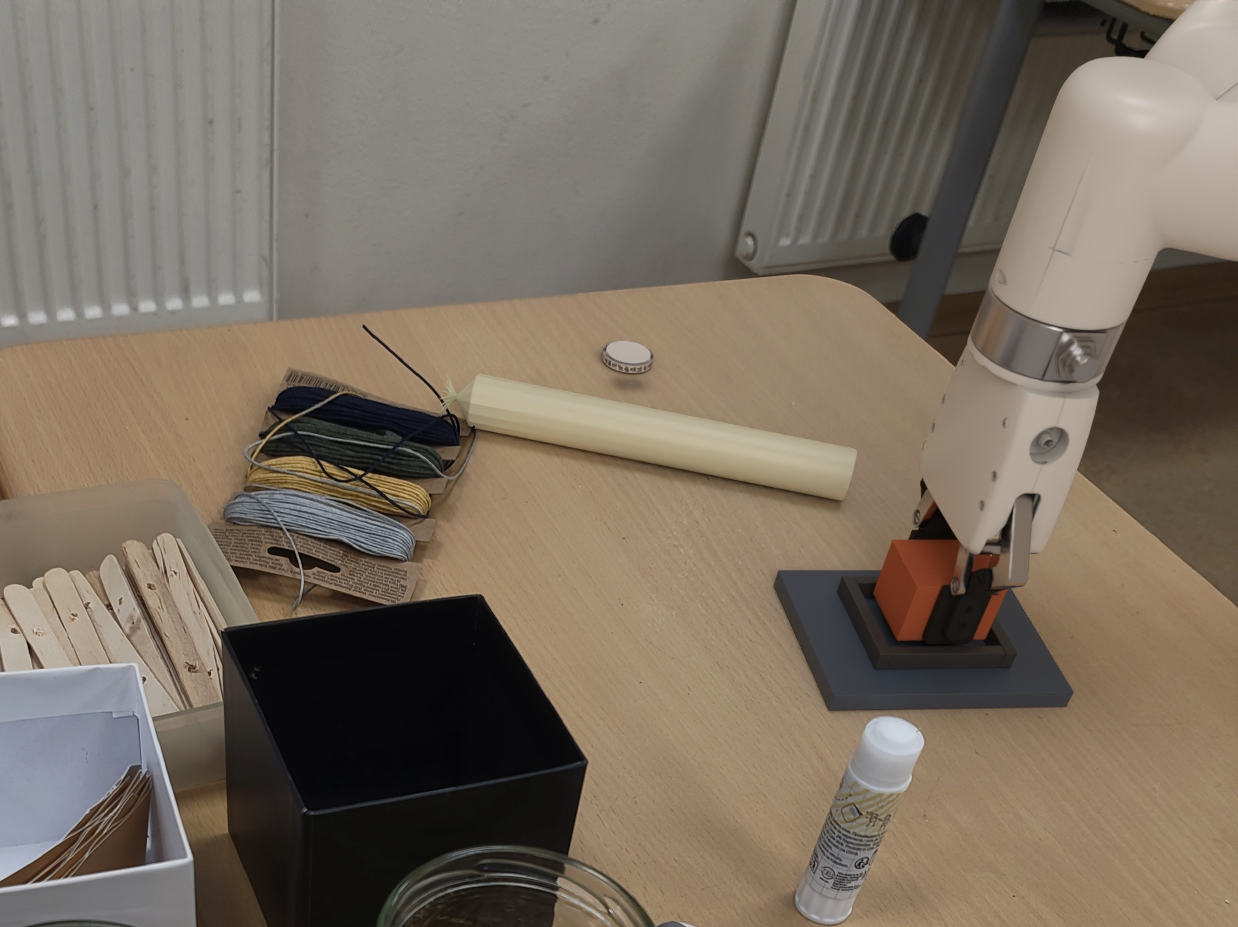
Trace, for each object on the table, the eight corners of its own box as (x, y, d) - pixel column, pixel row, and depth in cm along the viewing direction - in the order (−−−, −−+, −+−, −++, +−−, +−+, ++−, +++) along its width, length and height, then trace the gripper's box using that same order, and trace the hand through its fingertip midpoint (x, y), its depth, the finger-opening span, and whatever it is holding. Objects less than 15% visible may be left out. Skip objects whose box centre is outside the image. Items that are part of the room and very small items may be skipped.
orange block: (958, 592, 95) (980, 539, 92) (985, 640, 92) (1009, 586, 89) (872, 593, 94) (892, 539, 91) (896, 641, 91) (918, 587, 88)
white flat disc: (597, 366, 113) (599, 358, 113) (606, 343, 116) (608, 335, 115) (647, 377, 113) (649, 369, 113) (655, 353, 115) (657, 345, 115)
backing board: (993, 584, 100) (1007, 554, 98) (1066, 707, 92) (1082, 676, 90) (773, 585, 97) (782, 554, 96) (828, 711, 90) (840, 679, 88)
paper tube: (444, 406, 108) (449, 357, 105) (842, 485, 106) (858, 438, 103) (434, 430, 105) (438, 381, 103) (840, 512, 104) (856, 464, 101)
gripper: (1175, 415, 74) (1034, 698, 88) (1049, 260, 84) (940, 536, 99) (1039, 414, 73) (918, 700, 87) (928, 257, 83) (836, 536, 97)
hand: (931, 610), depth 93 cm, fingers closed on orange block, 5 cm apart
